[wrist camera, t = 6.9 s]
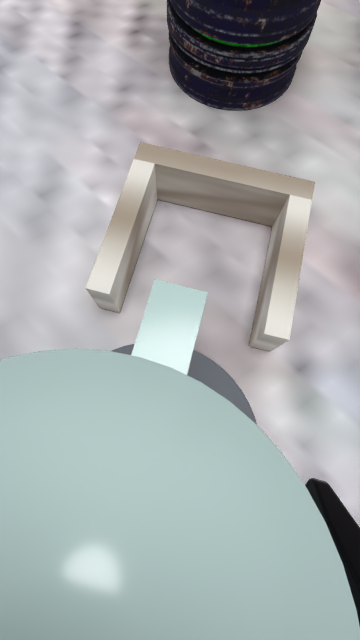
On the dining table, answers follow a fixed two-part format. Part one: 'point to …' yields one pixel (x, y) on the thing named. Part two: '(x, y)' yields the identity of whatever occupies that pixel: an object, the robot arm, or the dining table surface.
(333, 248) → the dining table surface
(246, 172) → the frame
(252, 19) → the storage jar
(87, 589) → the pale green rounded piece
